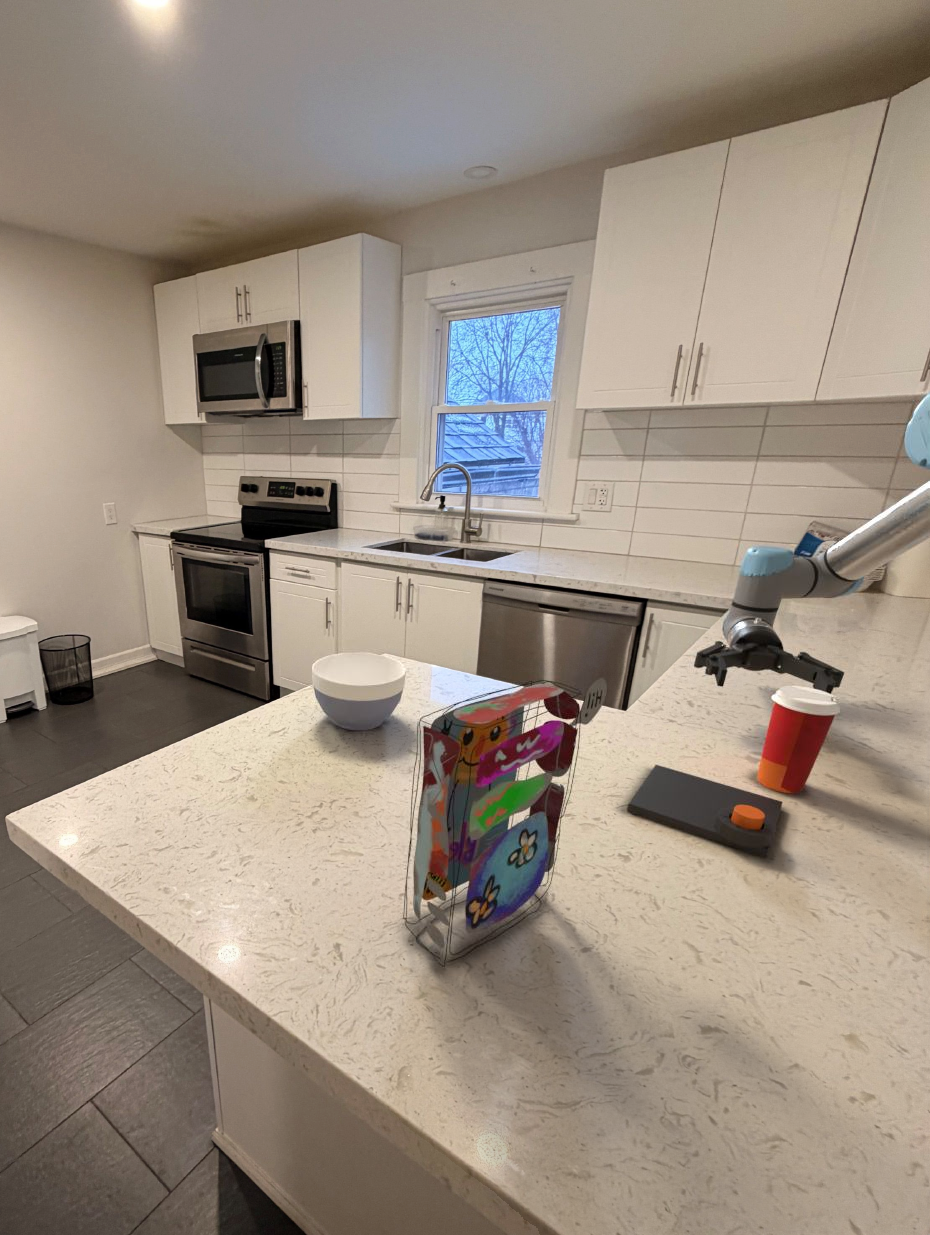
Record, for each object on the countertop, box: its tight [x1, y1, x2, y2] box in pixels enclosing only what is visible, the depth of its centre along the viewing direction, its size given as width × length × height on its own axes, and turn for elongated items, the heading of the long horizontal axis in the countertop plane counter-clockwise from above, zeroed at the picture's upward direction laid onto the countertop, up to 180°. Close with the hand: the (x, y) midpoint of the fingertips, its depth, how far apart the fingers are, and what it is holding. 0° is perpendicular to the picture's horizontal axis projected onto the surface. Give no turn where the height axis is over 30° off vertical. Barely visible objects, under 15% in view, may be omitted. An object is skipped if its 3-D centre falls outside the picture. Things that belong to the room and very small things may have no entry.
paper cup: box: [756, 685, 841, 794], centre depth 90 cm, size 8×8×14 cm
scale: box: [626, 764, 783, 859], centre depth 85 cm, size 16×15×3 cm
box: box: [402, 677, 608, 968], centre depth 65 cm, size 25×6×24 cm, turn 126°
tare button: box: [731, 805, 765, 830], centre depth 79 cm, size 3×3×2 cm
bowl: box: [311, 652, 407, 731], centre depth 110 cm, size 16×16×10 cm
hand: (773, 685), depth 97 cm, fingers open, 13 cm apart
